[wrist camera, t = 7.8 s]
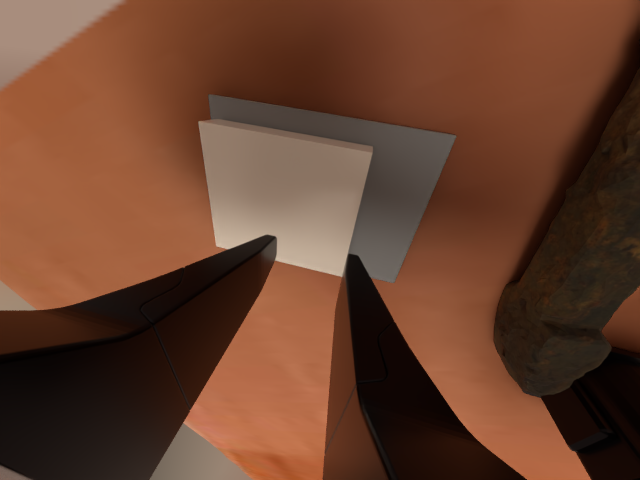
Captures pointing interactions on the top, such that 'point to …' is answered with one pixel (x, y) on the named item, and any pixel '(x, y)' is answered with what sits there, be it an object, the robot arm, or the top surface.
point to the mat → (382, 179)
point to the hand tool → (578, 267)
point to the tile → (284, 190)
